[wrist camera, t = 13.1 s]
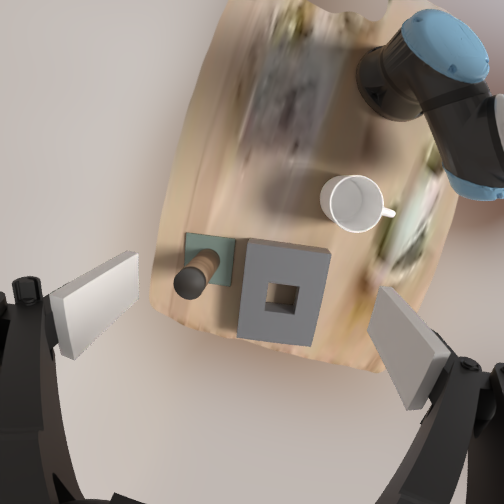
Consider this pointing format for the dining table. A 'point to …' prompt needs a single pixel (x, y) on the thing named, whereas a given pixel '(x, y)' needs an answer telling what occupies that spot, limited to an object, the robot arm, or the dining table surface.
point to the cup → (353, 202)
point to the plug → (196, 274)
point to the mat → (217, 244)
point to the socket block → (288, 273)
